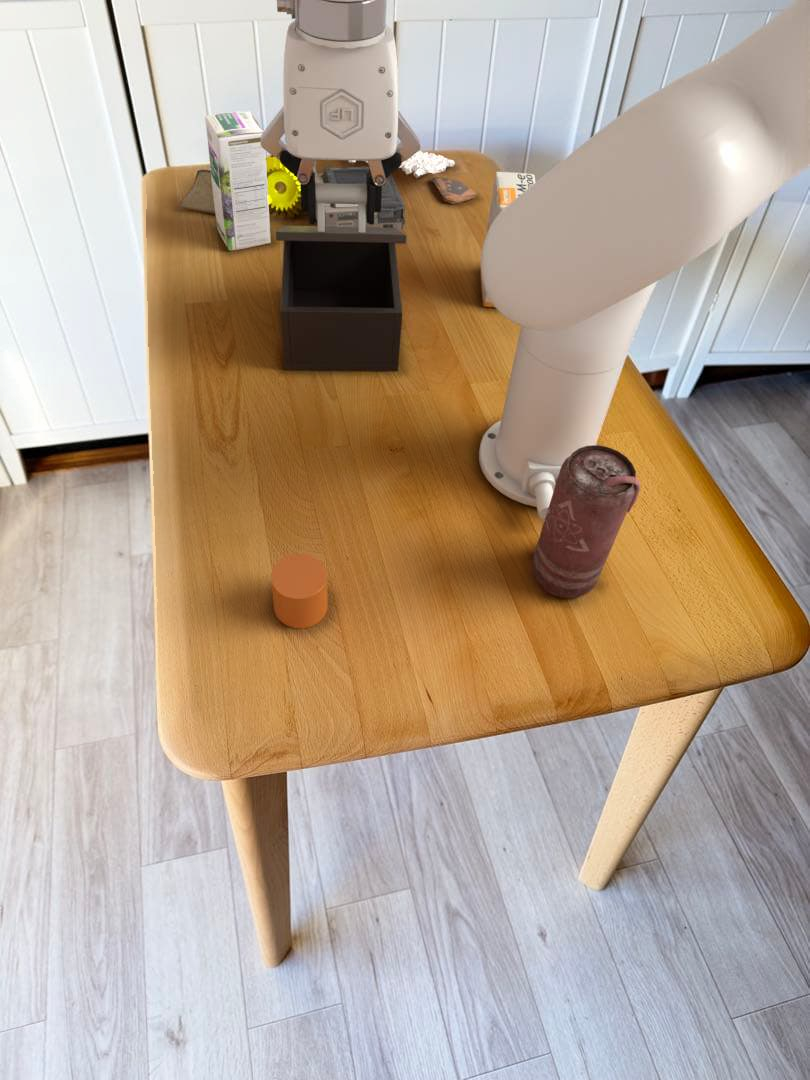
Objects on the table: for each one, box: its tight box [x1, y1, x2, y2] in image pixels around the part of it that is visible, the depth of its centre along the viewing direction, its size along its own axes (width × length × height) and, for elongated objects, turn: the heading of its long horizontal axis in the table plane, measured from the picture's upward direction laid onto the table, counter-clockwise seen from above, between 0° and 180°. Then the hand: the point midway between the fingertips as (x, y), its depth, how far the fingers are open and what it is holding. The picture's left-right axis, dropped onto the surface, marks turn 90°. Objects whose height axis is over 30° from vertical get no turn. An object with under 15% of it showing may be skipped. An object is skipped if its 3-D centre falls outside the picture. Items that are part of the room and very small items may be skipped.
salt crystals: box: [284, 139, 456, 179], centre depth 114 cm, size 20×20×2 cm
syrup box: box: [204, 110, 272, 252], centre depth 100 cm, size 6×6×14 cm
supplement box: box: [479, 171, 537, 309], centre depth 97 cm, size 8×5×13 cm, turn 179°
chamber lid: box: [275, 183, 407, 244], centre depth 85 cm, size 15×13×5 cm
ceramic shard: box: [178, 169, 216, 215], centre depth 107 cm, size 10×5×2 cm
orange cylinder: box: [270, 553, 329, 629], centre depth 69 cm, size 5×5×4 cm
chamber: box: [279, 241, 403, 372], centre depth 92 cm, size 15×13×8 cm
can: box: [531, 444, 642, 599], centre depth 69 cm, size 6×6×14 cm
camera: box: [315, 166, 406, 232], centre depth 107 cm, size 11×6×10 cm
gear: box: [266, 155, 301, 219], centre depth 107 cm, size 8×4×8 cm
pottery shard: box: [431, 176, 478, 205], centre depth 115 cm, size 7×1×5 cm
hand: (341, 215), depth 81 cm, fingers closed on chamber lid, 5 cm apart
